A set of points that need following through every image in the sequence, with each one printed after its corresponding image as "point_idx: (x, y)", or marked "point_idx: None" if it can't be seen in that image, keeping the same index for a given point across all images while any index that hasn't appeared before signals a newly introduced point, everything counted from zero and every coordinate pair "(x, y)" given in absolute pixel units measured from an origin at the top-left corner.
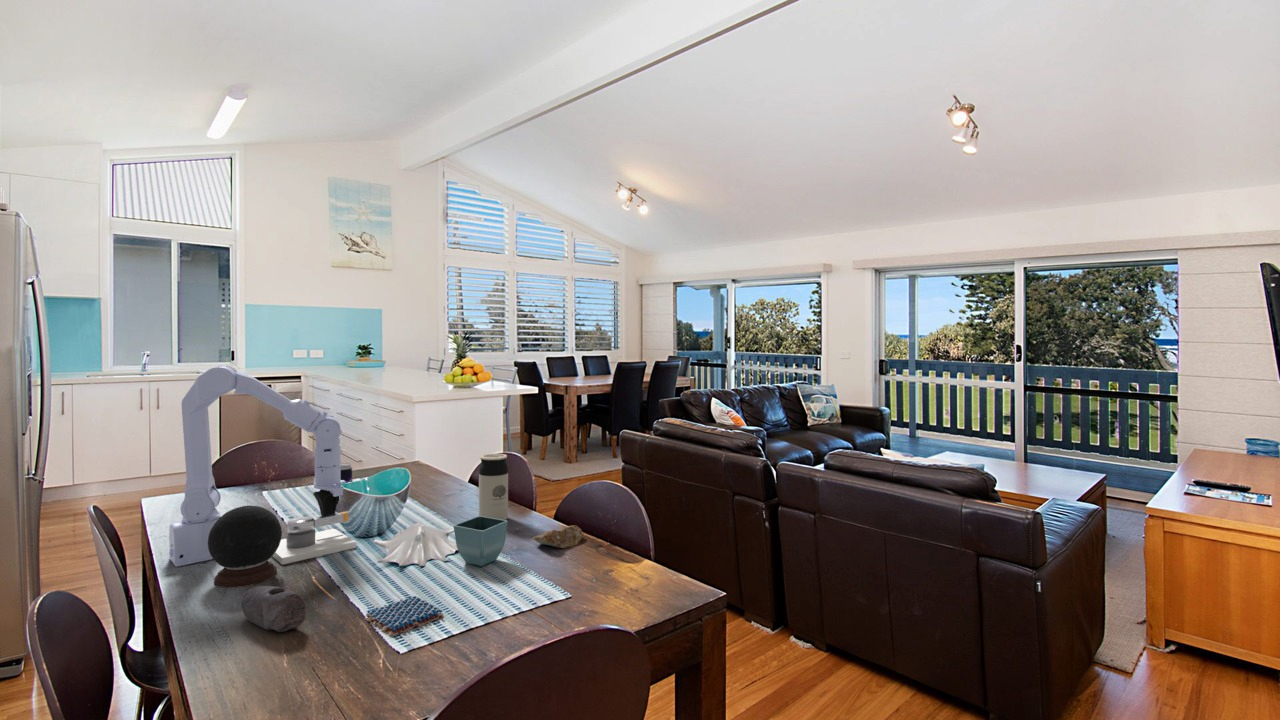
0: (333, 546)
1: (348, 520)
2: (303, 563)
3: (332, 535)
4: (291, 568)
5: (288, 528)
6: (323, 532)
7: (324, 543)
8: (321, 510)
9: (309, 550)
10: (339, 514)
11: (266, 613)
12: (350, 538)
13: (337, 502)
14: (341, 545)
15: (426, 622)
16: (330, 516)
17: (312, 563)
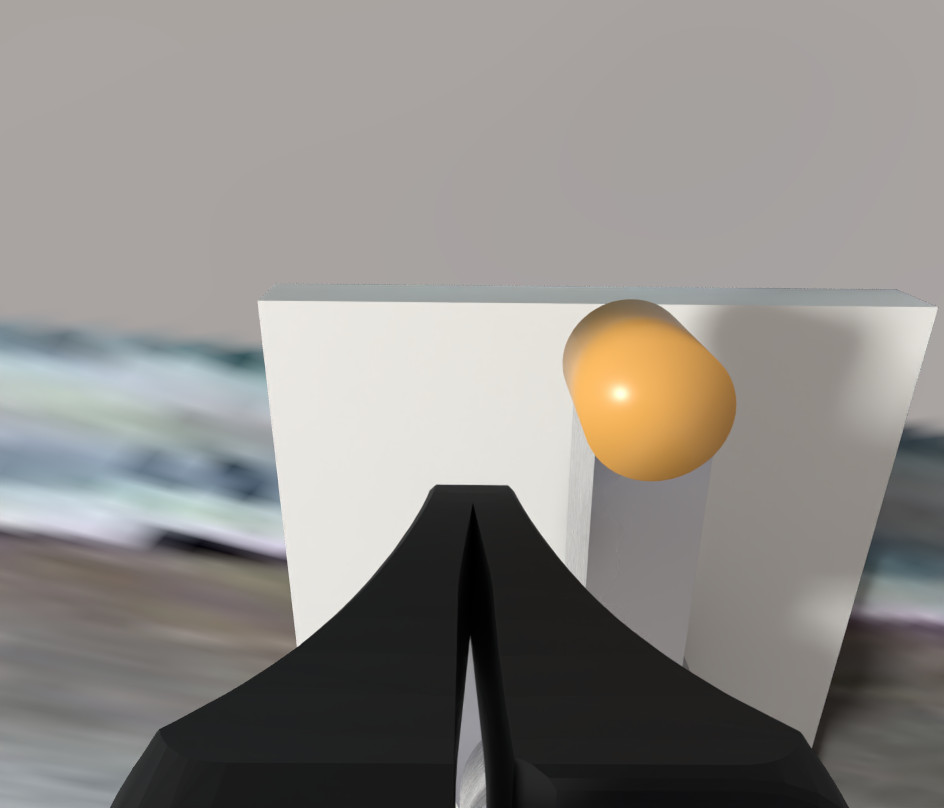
0: (874, 518)
1: (674, 317)
2: (866, 698)
3: (518, 408)
4: (889, 766)
5: None
6: (338, 438)
7: (714, 544)
8: (459, 721)
9: (793, 678)
10: (692, 504)
11: None
12: (783, 309)
13: (638, 640)
14: (893, 449)
15: None
16: (685, 626)
17: (926, 661)
